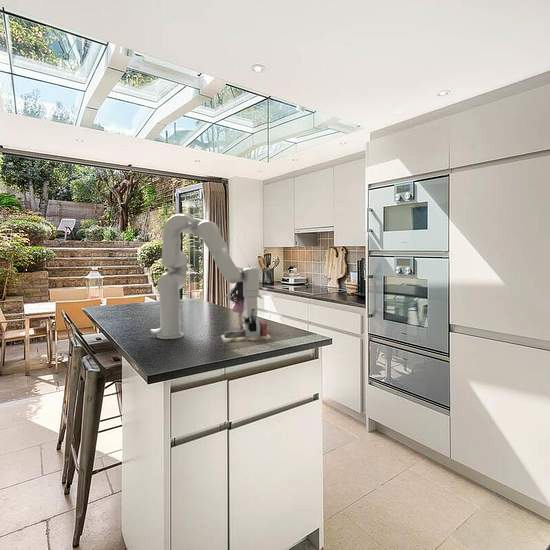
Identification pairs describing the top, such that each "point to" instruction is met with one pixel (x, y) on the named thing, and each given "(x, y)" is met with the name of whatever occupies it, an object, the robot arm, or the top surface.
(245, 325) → the lock block
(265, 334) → the board
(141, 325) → the top surface
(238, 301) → the figurine
